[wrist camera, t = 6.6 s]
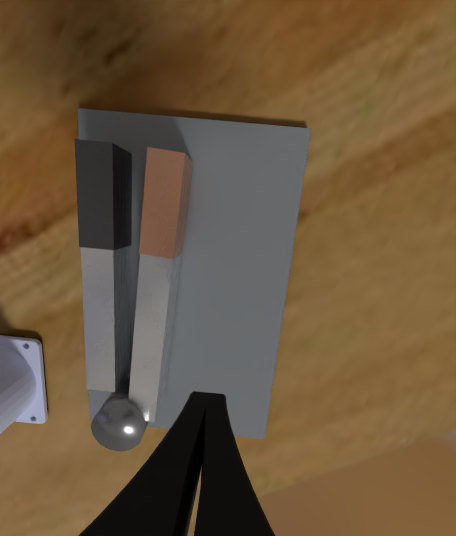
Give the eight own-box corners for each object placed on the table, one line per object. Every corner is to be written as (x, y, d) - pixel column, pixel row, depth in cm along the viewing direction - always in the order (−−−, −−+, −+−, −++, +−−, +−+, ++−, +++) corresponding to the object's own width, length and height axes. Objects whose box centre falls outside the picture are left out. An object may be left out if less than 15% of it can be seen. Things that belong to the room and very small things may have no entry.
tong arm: (162, 420, 20) (149, 456, 17) (112, 412, 20) (90, 446, 17) (193, 162, 16) (182, 150, 13) (128, 152, 16) (103, 137, 13)
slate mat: (263, 432, 21) (264, 439, 20) (94, 414, 21) (90, 420, 20) (308, 131, 16) (311, 128, 15) (83, 112, 16) (77, 108, 15)
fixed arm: (131, 369, 19) (115, 392, 17) (105, 367, 19) (85, 389, 17) (131, 154, 16) (112, 142, 13) (100, 151, 16) (74, 139, 13)
